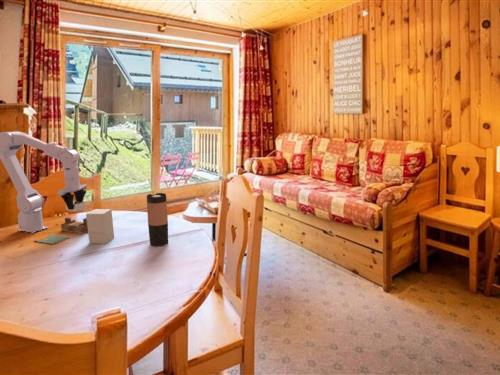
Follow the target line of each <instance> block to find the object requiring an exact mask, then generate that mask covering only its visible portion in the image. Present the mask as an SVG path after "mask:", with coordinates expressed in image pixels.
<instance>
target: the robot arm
mask: <svg viewBox="0 0 500 375" xmlns="http://www.w3.org/2000/svg"><path fill="white" fill-rule="evenodd" d="M23 145H27V146H29V147H32V148H34V149H38V150H41V151H43V152H44V154H45V156H46V155H47V156H49V157H51V158H54V159H55V160H59V161H60V162H61V164H62V167H63V168H62V169H63V175H64V186H65V187H63V188H62V189H59V190H57V196H60V197H61V198H62V199H63V201H64V203H65V206H66V205H67V207H68V209H69V210H73V201H74V197H75V201H81V202H84V199H85V196H86V194H87V190H88V189H89V187H88V184H81V182H80V180H81V179H80V171H79V161H80V158H81V156H80V153H79V151H77V150H76V149H75V148H72V149H69V148H68V147H67V146H62V145H60V144H58V142H54V141H53V142H48V143H47V142H44V141H42V140H41V139H38V138H36V137H34V136H31V135H29V134H27V133H26V132H22V131H19V130H15V131H2V132H0V160H1V162H2V164H3V167H4V168H5V170H6V172H7V174H8V176H9V177H10V178H9V179H10V180H11V181H12V185H13V186H14V188H15V189H16V191H17V195H16V196H15V200H16V202H17V204H16V206H17V209H18V210H19V211H20V212H18V215H17V223H18V230H19V229H21V230H25V231H26V232H25V233H27V232H32V233H31V234H35V233H34V232H36V231H39V230H41V231H43V230H42V229H44V230H46V229H45V228H47V229H49V226H44V220H43V212H42V208H43V206H44V203H45V199H44V197H43V196H42V195H41V194H40V193H39V192H38V190H37V189H34V188H33V187H32V186H31V184H30V182H29V180H28V177H27V176H26V174H25V171H24V170H23V167H22V165H21V164H20V162H19V160H18V158H17V156H16V154H17V152H18V150H19V149H20V148H22V146H23ZM72 193H73V194H72ZM69 210H68V211H69ZM39 232H40V231H39ZM36 233H37V232H36Z"/></svg>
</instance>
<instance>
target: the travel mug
mask: <svg viewBox="0 0 500 375" xmlns="http://www.w3.org/2000/svg"><path fill="white" fill-rule="evenodd" d="M167 202H168V200H167V194H166V193H162V192H156V194H151V193H149V194H146V208H147V226H148V237H149V238H148V239H149V245H150V246H152V247H163V246H166V245H168V243H169V223H168V222H169V221H168V220H169V219H168V218H169V217H168V205H167V204H168V203H167Z"/></svg>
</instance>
